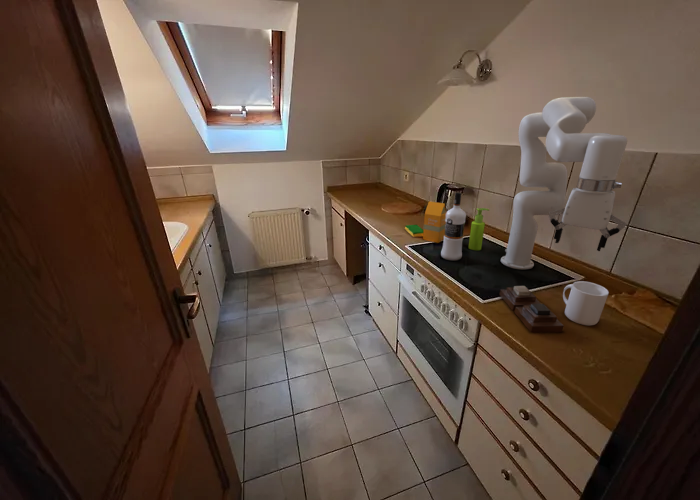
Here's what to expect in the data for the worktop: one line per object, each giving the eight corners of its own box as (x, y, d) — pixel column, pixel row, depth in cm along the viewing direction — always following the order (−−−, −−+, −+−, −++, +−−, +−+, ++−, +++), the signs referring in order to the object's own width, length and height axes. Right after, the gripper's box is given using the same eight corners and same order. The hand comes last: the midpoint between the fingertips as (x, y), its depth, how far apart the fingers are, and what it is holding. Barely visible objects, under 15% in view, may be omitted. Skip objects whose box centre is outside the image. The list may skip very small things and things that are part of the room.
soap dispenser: (485, 250, 143) (491, 210, 135) (470, 250, 144) (475, 210, 136) (480, 245, 149) (486, 206, 141) (466, 245, 149) (471, 206, 141)
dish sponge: (416, 228, 176) (416, 224, 175) (425, 236, 163) (425, 232, 163) (404, 229, 175) (405, 225, 174) (413, 237, 162) (413, 233, 162)
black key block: (514, 312, 97) (516, 302, 95) (542, 312, 96) (545, 301, 95) (531, 332, 88) (533, 321, 86) (562, 331, 87) (565, 320, 86)
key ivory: (513, 290, 102) (513, 286, 102) (523, 290, 102) (524, 285, 102) (518, 296, 99) (519, 291, 98) (529, 295, 99) (530, 291, 98)
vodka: (466, 258, 135) (474, 193, 124) (450, 262, 132) (457, 195, 120) (451, 251, 143) (458, 189, 131) (436, 255, 140) (442, 191, 128)
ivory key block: (499, 294, 107) (501, 284, 105) (524, 294, 107) (526, 284, 105) (512, 310, 98) (515, 300, 96) (540, 310, 97) (543, 299, 96)
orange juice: (429, 235, 164) (432, 199, 157) (444, 238, 159) (448, 202, 151) (422, 239, 159) (425, 202, 151) (438, 243, 154) (441, 205, 146)
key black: (530, 308, 92) (531, 304, 92) (542, 308, 92) (543, 303, 92) (536, 315, 89) (538, 310, 88) (549, 315, 89) (550, 310, 88)
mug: (570, 302, 101) (579, 274, 97) (605, 324, 90) (616, 293, 86) (548, 306, 99) (556, 277, 95) (581, 328, 88) (591, 297, 84)
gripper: (639, 186, 75) (617, 248, 82) (558, 180, 86) (545, 235, 93) (639, 191, 70) (616, 257, 77) (553, 184, 81) (539, 242, 88)
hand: (577, 245), depth 85 cm, fingers open, 9 cm apart
